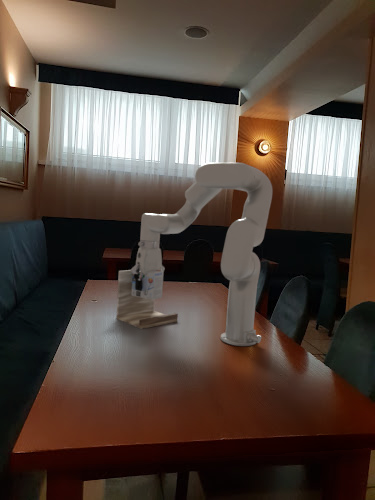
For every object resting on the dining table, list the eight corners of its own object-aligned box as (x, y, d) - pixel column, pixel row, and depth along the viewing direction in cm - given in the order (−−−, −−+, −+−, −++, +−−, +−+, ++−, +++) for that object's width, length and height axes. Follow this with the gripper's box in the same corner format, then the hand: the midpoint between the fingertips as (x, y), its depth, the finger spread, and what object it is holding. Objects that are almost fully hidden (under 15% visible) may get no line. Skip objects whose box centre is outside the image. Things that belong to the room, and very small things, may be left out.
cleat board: (177, 321, 153) (180, 274, 151) (141, 328, 140) (144, 277, 139) (151, 312, 164) (154, 268, 162) (116, 318, 152) (118, 270, 150)
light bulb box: (130, 295, 152) (132, 268, 151) (140, 293, 158) (142, 267, 157) (153, 300, 147) (154, 272, 146) (162, 297, 153) (164, 270, 152)
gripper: (137, 246, 141) (135, 293, 143) (172, 245, 154) (169, 288, 155) (125, 244, 147) (123, 289, 148) (160, 243, 159) (157, 285, 161)
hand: (146, 288), depth 152 cm, fingers closed on light bulb box, 8 cm apart
